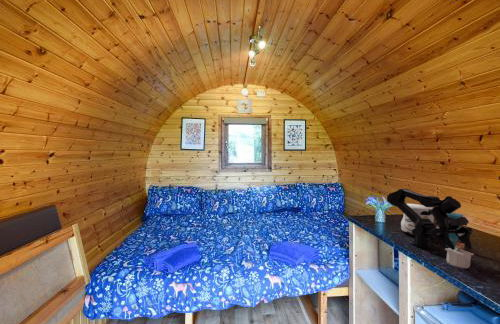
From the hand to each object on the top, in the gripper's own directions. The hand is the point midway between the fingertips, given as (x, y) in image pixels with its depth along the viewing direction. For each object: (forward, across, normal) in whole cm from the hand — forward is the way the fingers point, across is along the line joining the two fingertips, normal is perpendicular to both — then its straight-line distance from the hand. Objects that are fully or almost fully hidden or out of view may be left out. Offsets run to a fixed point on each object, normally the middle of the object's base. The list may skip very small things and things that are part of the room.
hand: (462, 249), depth 110 cm
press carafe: (+4, +1, +6) cm, 8 cm away
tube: (-9, +18, +20) cm, 29 cm away
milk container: (-22, +14, +33) cm, 43 cm away
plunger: (+4, 0, +6) cm, 7 cm away
